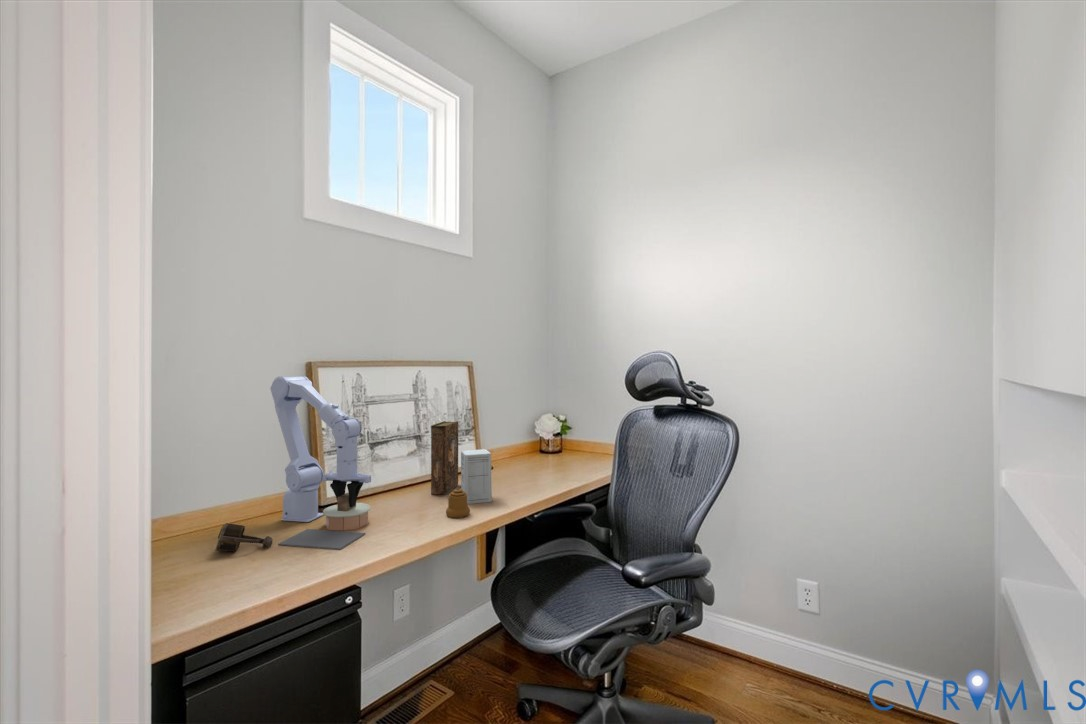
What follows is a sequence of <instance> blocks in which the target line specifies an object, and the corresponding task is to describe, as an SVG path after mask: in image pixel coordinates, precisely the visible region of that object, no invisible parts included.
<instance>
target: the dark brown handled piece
mask: <svg viewBox="0 0 1086 724" xmlns="http://www.w3.org/2000/svg"><path fill="white" fill-rule="evenodd" d="M245 530H246V526H245V525H241V524H235V523H229V522H226V523H224V524H223V525H222V527H221V529H220V531H219V533H218V536H217V538H218V539H217V543H216V546H215V550H214V551H215V552H218V551H221V550H222V551H229V552H237V551H238V549H239V548H240V545H241V543H243V544H244V543H246V544H260V545H261V544H262V547H263V548H265V549H266V548H268V547H271V546H272V544H273V537H271V536H270V535H267V536H265V538H263V537H257V536H254V535H247V534H244V533H245Z"/></svg>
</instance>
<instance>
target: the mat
mask: <svg viewBox="0 0 1086 724" xmlns="http://www.w3.org/2000/svg"><path fill="white" fill-rule="evenodd" d="M365 535H366V532H357V531H346V530H345V531H344V530H343V531H338V530H329V529H327V530H326V529H314V528H306V529H305V530H303V531H300V532H298V533H296V534H294V535H292V536H290V537H287V539H284V540H282V541H281V542H278V543H277V545H278V546H283V547H297V548H299V547H300V548H308V549H309V548H310V549H320V550H321V549H323V550H336V551H340V550H341V551H342V550H343V549H345V548H346V547H347V546H349V545H350V544H353V543H354V542H355V541H358V540H359V539H360V538H362V537H363V536H365Z"/></svg>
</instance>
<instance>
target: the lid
mask: <svg viewBox="0 0 1086 724" xmlns="http://www.w3.org/2000/svg"><path fill="white" fill-rule="evenodd" d="M336 502H337V504H334V505H330V506H328V507H325V508H324V509H323V510H322V513H323V514H324V515H323V516H325V517H326V516H328V517H351V516H357V515H361V514H364V513H366V512H368V513H369V511H371V505H370V504H368V503H365V502H356V505H355V506H353V507H350V506H349V492H345V494H343V495H341V496H339V497H337V499H336Z"/></svg>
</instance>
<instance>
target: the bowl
mask: <svg viewBox="0 0 1086 724" xmlns="http://www.w3.org/2000/svg"><path fill="white" fill-rule="evenodd" d="M368 523H369V511H368V512H366V513H364V514H361V515H357V516H351V517H328V516H325V527H326V528H327V530H331V531H345V532H346V531H350V530H355V529H360V528H362V527H364V526H365V525H367V524H368Z"/></svg>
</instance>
